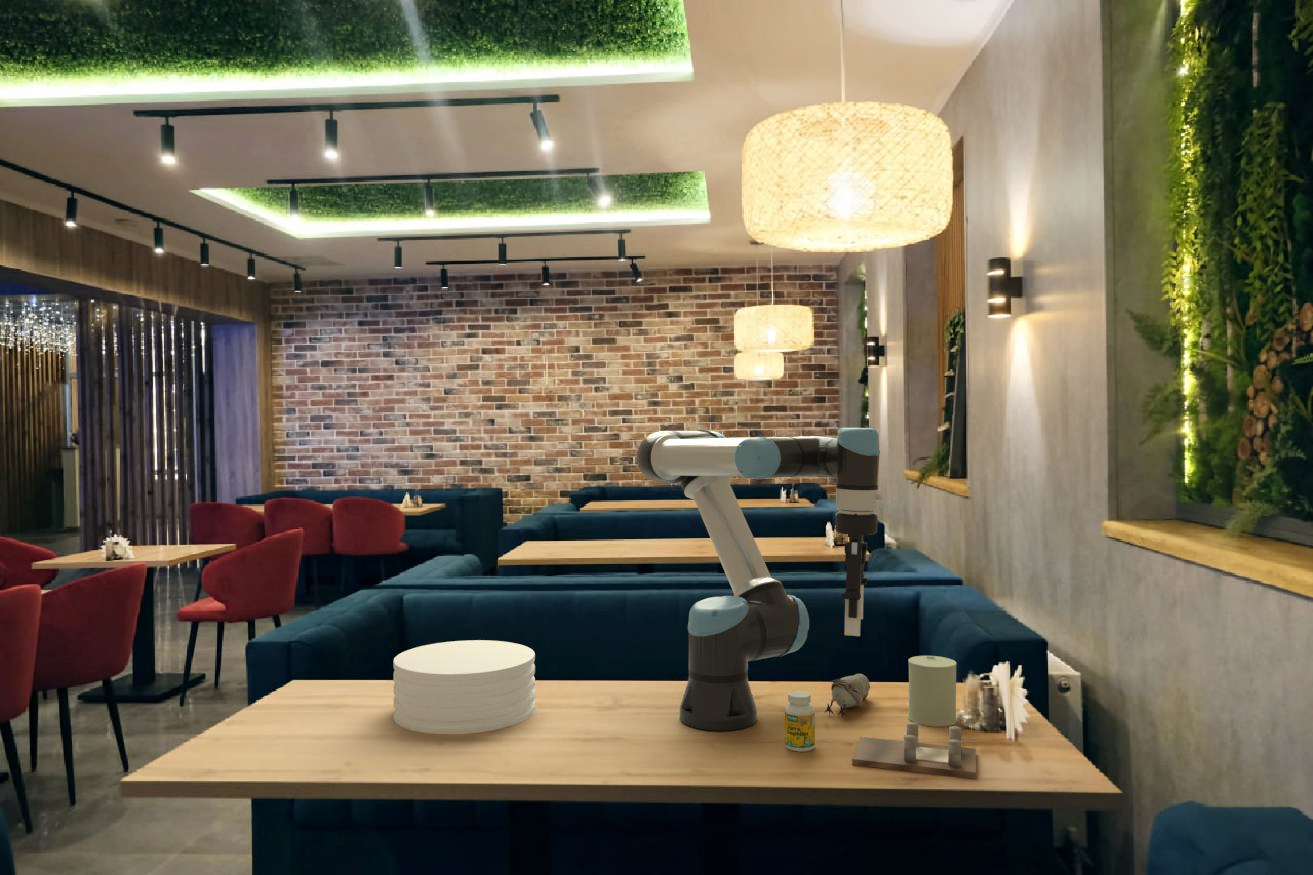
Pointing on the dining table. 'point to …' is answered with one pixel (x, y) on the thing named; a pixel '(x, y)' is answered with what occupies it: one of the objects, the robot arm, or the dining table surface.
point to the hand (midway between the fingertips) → (854, 626)
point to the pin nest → (918, 754)
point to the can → (932, 691)
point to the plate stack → (464, 686)
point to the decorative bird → (849, 691)
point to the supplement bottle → (799, 722)
